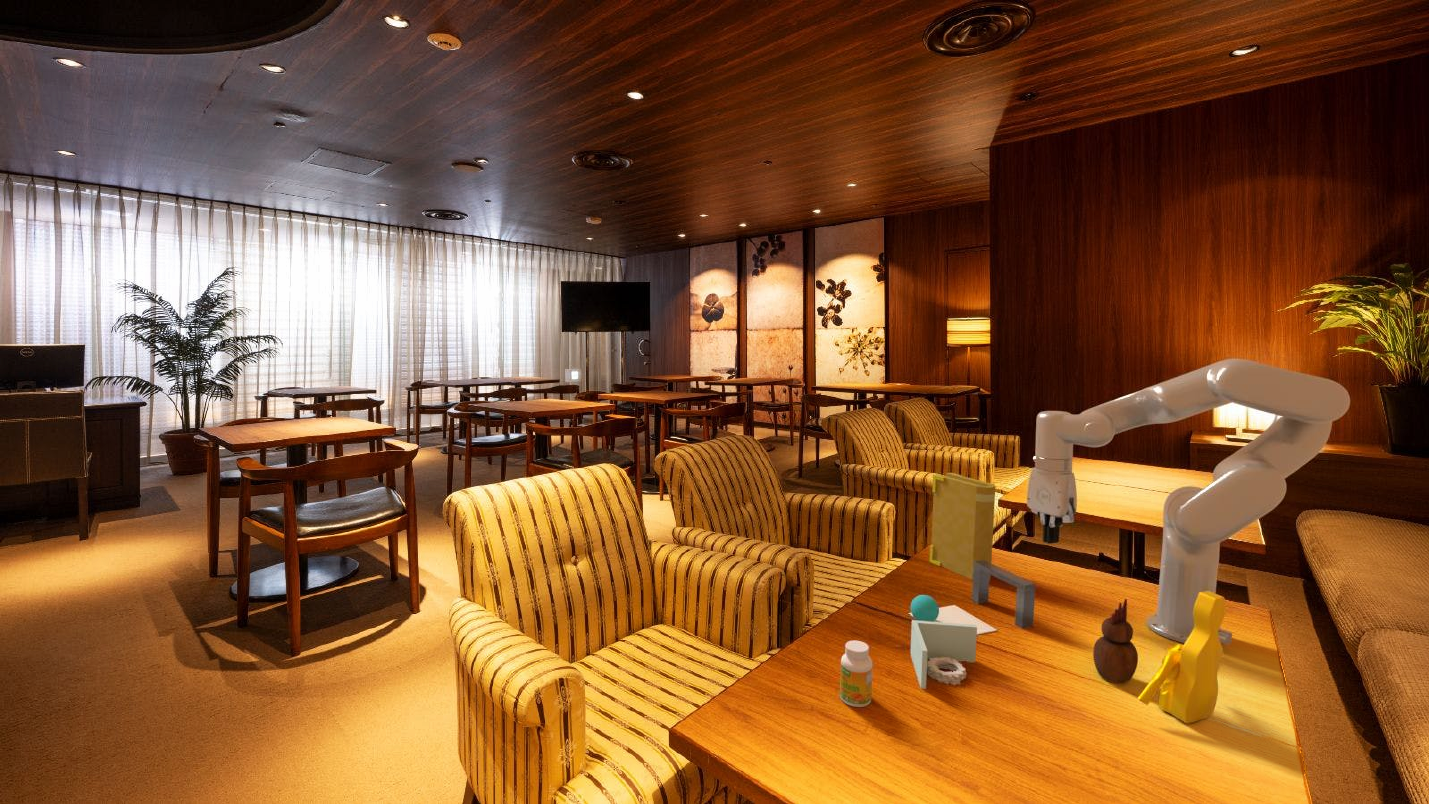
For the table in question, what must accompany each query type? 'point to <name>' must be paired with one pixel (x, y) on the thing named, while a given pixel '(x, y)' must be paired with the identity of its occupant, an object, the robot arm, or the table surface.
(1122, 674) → the wooden figurine
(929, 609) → the ball
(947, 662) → the l-shaped corner panel
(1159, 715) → the table surface
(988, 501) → the book
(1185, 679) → the figure statuette
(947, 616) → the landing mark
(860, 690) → the supplement bottle
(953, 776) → the table surface
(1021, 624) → the bridge
